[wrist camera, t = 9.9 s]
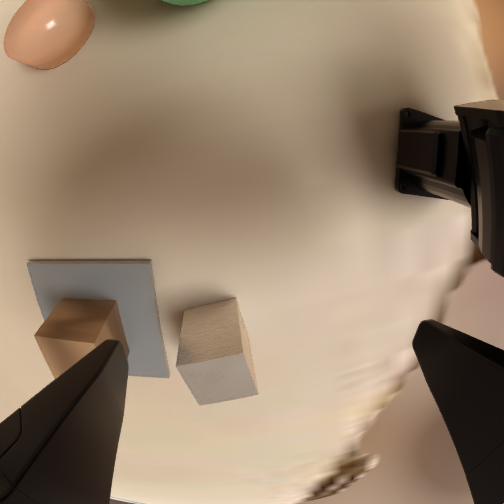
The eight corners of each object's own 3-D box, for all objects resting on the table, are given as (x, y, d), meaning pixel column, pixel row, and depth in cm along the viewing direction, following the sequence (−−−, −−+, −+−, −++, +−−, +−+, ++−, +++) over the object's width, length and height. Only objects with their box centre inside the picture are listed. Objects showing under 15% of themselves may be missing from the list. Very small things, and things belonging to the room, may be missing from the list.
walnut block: (116, 300, 19) (94, 343, 14) (129, 351, 20) (115, 396, 16) (62, 297, 18) (34, 335, 13) (79, 346, 20) (59, 386, 15)
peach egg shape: (78, -11, 10) (62, -30, 6) (108, 28, 12) (92, 9, 9) (19, 41, 10) (-4, 31, 7) (42, 85, 12) (17, 77, 9)
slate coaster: (151, 260, 18) (149, 263, 18) (169, 373, 22) (169, 378, 22) (30, 260, 17) (26, 263, 17) (66, 363, 21) (64, 366, 21)
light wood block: (236, 297, 20) (243, 352, 15) (248, 337, 22) (258, 394, 16) (184, 309, 20) (176, 366, 15) (201, 348, 22) (199, 405, 16)
